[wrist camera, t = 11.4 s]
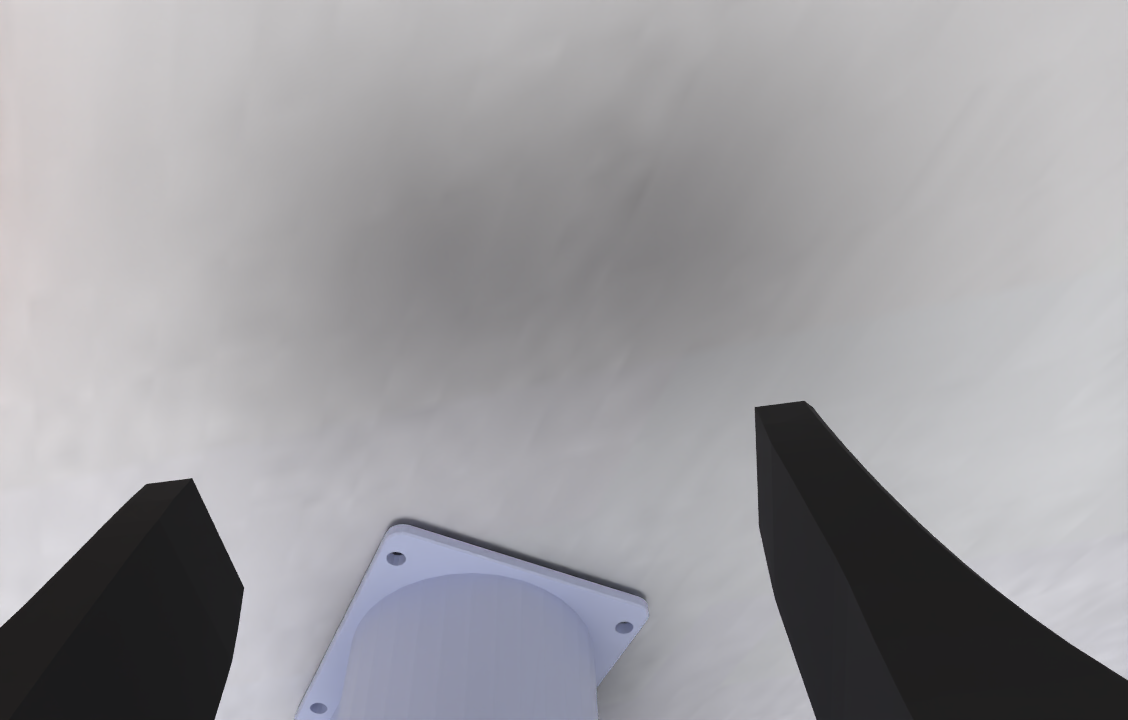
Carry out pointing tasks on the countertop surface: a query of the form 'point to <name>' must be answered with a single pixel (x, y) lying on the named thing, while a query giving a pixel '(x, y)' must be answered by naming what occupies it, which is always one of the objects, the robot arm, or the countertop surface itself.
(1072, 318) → the countertop surface
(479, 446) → the countertop surface
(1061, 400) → the countertop surface
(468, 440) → the countertop surface
